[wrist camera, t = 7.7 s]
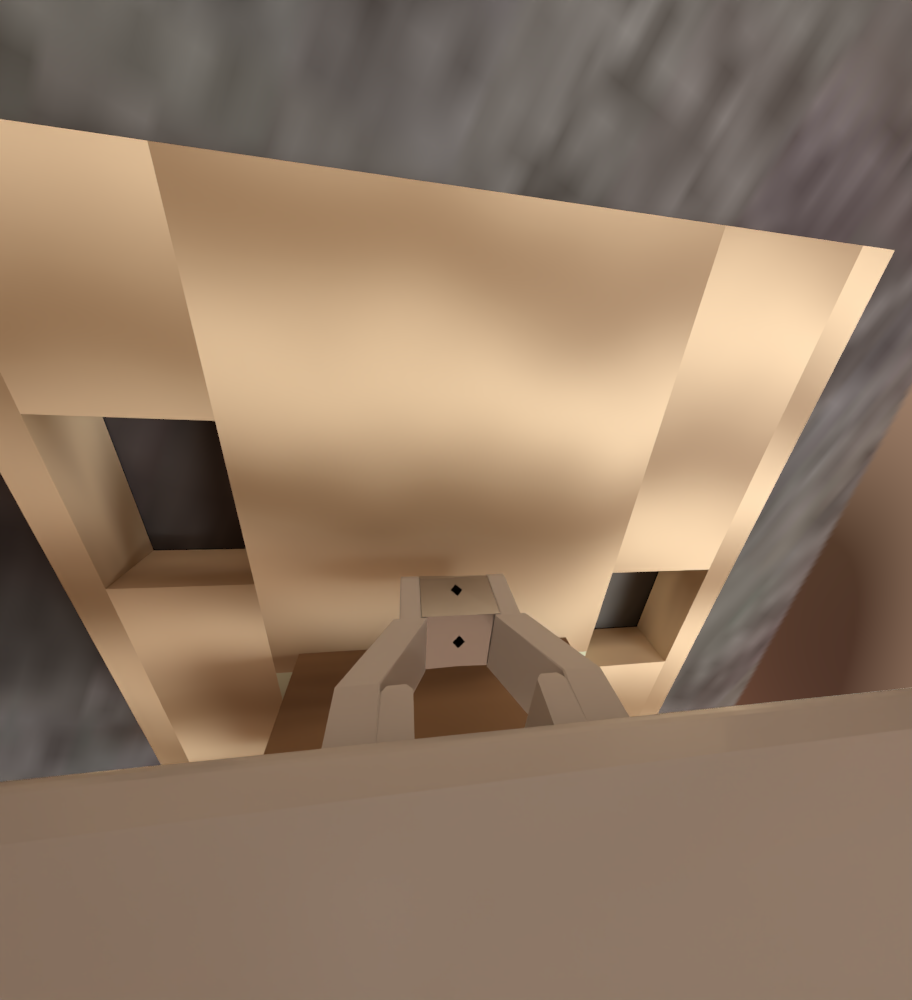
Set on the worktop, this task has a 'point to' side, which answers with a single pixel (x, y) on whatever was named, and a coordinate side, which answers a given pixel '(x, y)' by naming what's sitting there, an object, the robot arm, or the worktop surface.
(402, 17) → the worktop surface
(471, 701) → the block
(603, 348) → the wooden frame
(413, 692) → the robot arm
